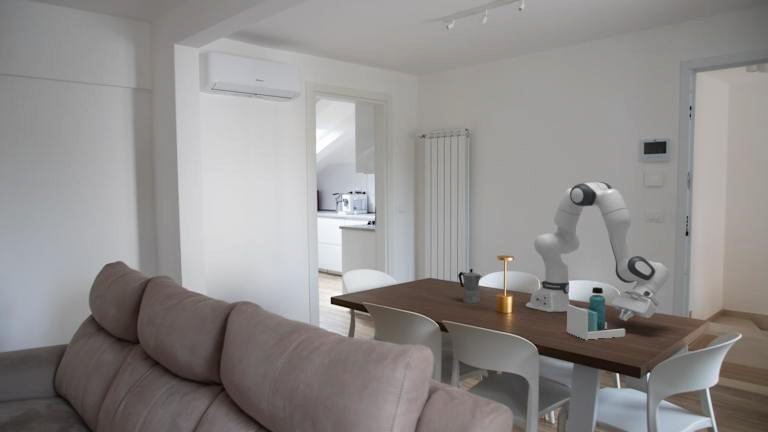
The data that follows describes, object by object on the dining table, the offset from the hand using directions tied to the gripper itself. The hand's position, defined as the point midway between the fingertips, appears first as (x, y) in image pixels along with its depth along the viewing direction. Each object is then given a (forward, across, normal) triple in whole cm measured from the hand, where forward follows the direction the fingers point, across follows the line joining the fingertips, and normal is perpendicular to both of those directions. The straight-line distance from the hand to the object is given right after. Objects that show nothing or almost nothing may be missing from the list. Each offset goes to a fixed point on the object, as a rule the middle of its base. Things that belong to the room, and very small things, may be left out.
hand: (622, 319), depth 226 cm
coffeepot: (+30, -75, -22) cm, 84 cm away
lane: (+13, 0, -5) cm, 14 cm away
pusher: (+15, 0, -8) cm, 18 cm away
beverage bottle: (+13, 0, -5) cm, 14 cm away
